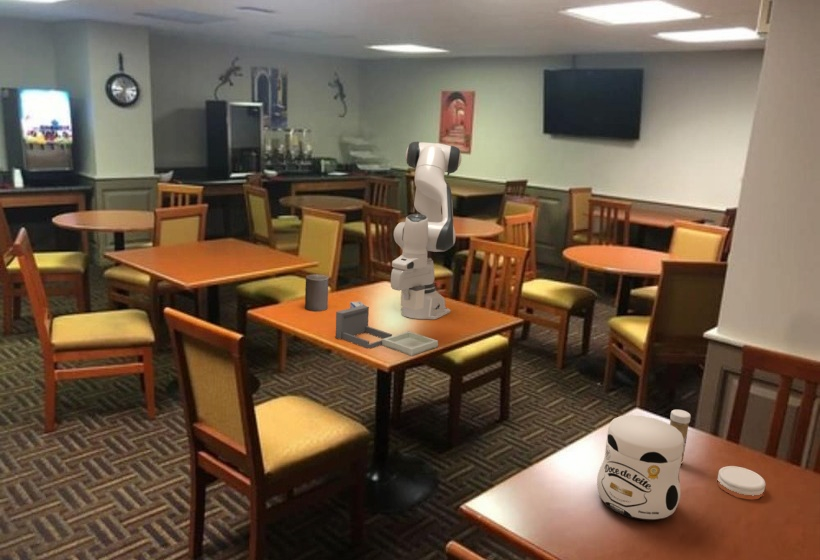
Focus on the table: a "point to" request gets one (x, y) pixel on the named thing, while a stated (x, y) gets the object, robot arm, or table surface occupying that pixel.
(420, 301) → the block
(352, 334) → the bay
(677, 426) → the sprinkles bottle
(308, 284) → the pillar candle
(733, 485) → the white round piece
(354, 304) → the medicine box
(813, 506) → the table surface
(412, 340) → the tray
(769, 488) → the table surface
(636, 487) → the doce de leite jar
